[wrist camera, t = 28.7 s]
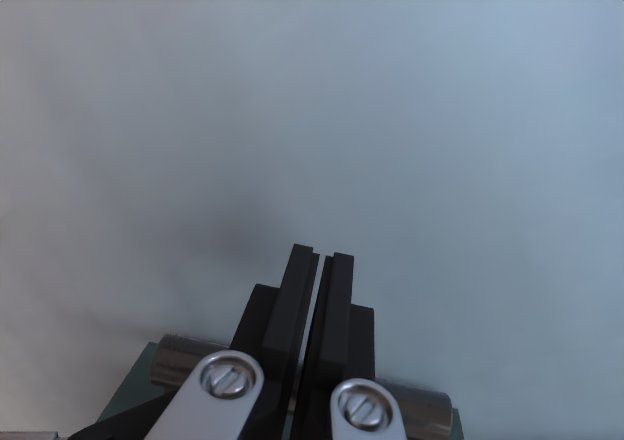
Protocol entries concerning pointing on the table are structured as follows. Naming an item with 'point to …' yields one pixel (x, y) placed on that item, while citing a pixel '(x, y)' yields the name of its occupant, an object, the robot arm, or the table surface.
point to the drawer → (189, 352)
